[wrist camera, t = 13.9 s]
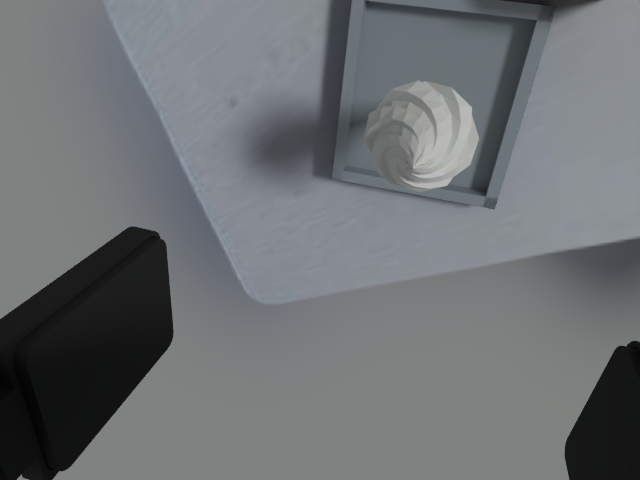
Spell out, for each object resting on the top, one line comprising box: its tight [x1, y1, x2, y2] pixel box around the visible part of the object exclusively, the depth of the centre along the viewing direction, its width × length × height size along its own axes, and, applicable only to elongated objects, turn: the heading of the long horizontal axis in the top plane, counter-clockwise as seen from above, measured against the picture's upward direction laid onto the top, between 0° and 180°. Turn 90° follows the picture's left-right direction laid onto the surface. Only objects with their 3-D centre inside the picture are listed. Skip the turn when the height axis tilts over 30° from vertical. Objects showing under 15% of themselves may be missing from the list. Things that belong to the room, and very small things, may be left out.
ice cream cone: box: [364, 80, 479, 192], centre depth 26 cm, size 6×6×15 cm
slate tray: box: [332, 0, 556, 209], centre depth 32 cm, size 13×12×2 cm
